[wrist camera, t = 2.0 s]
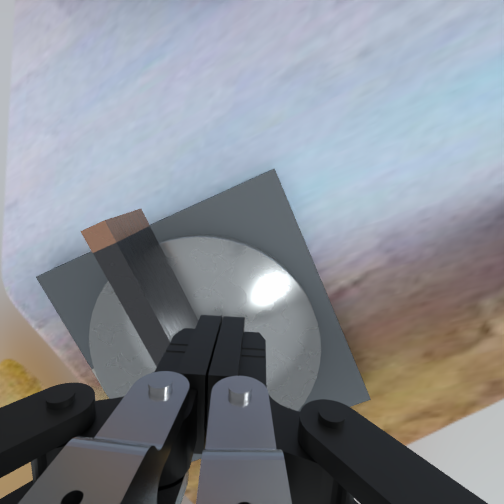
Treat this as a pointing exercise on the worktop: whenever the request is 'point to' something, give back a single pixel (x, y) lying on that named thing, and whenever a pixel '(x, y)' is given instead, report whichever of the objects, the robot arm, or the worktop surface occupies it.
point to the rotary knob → (194, 304)
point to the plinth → (242, 228)
